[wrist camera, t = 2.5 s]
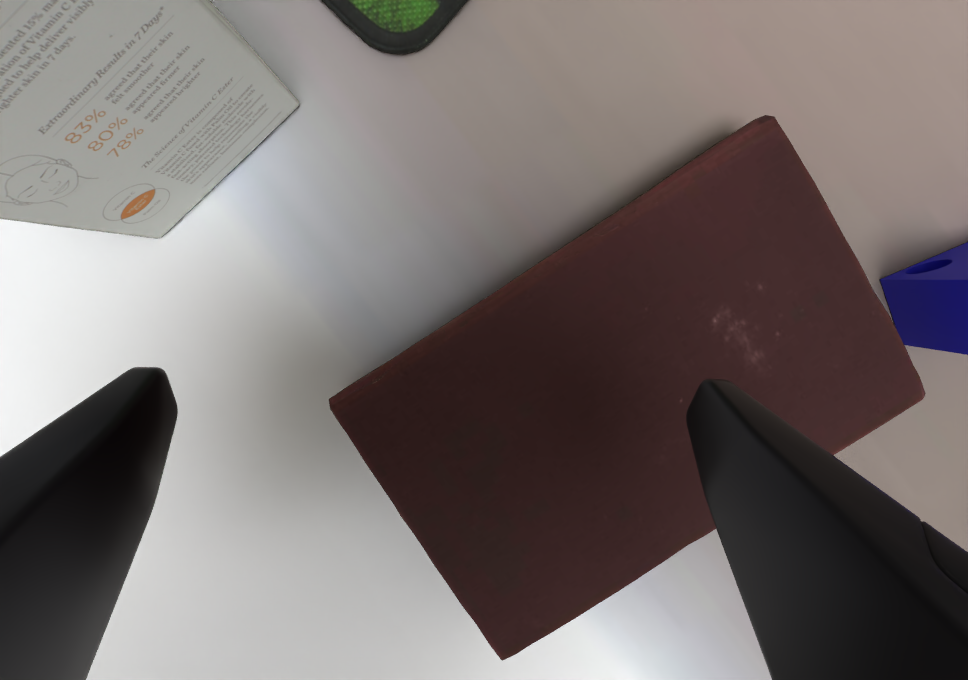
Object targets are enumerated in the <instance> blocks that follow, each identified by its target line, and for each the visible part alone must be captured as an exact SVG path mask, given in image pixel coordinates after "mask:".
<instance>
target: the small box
mask: <svg viewBox="0 0 968 680" xmlns="http://www.w3.org/2000/svg"><path fill="white" fill-rule="evenodd" d="M298 105H299V101H298V100H297V99H296V98H295V97H294V95H293V94H292V93H291V92H290V91H289V90H288V88H287V87H286V86H285V85H284V84H283V83H282V82H281V80H280V79H279V78H278V77H277V76H276V75H275V74H274V72H273V71H272V70H271V69H270V68H269V67H268V66H267V65H266V63H265V62H264V61H263V60H262V59H261V58H260V57H259V55H258V54H257V53H256V52H255V51H254V50H253V49H252V48H251V46H250V45H249V44H248V43H247V42H246V41H245V40H244V39H243V37H242V36H241V35H240V34H239V33H238V32H237V31H236V29H235V28H234V27H233V26H232V25H231V24H230V23H229V22H228V21H227V19H226V18H225V17H224V16H223V15H222V14H221V13H220V12H219V11H218V9H217V8H216V7H215V6H214V5H213V4H212V3H211V2H210V1H209V0H0V219H6V220H14V221H22V222H30V223H37V224H44V225H51V226H58V227H67V228H75V229H82V230H91V231H100V232H108V233H115V234H123V235H132V236H140V237H148V238H155V239H158V238H161V237H162V236H163V235H164V234H165V233H166V232H167V231H168V230H170V229H171V228H172V227H173V226H174V225H175V224H176V223H177V222H178V221H179V220H180V219H181V218H182V217H183V216H184V215H185V214H186V213H188V212H189V211H190V210H191V209H192V208H193V207H194V206H195V205H196V204H197V203H198V202H199V201H200V200H201V199H202V198H203V197H204V196H205V195H206V194H207V193H208V192H209V191H211V190H212V189H213V188H214V187H215V186H216V185H217V184H218V183H219V182H220V181H221V180H222V179H223V178H224V177H225V176H226V175H227V174H229V173H230V172H231V171H232V170H233V169H234V168H235V167H236V166H237V165H238V164H239V163H240V162H241V161H242V160H243V159H244V158H245V157H246V156H247V155H248V154H249V153H250V152H251V151H253V150H254V149H255V148H256V147H257V146H258V145H259V144H260V143H261V142H262V141H263V140H264V139H265V138H266V137H267V136H268V135H269V134H270V133H271V132H272V131H273V130H274V129H275V128H276V127H277V126H278V125H279V124H280V123H281V122H282V121H284V120H285V119H286V118H287V117H288V116H289V115H290V114H291V113H292V112H293V111H294V110H295V109H296V108H297V107H298Z"/></svg>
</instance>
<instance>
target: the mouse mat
mask: <svg viewBox="0 0 968 680" xmlns="http://www.w3.org/2000/svg"><path fill="white" fill-rule="evenodd" d="M322 1H323V2H324V3H325V4H326V5H327V6H328V7H329V8H330V9H331V10H333V11H334V12H335V13H336V14H337V15H338V17H339V18H340V19H341V20H342V21H343V22H344V23H345V24H347V25H348V26H349V27H350V28H351V29H353V30H354V31H355V33H356V34H358V35H359V36H360V37H361V38H362V40H363V41H365V42H366V43H367V44H368V45H369V46H372V47H375V48H376V49H378V50H380V51H383V52H387V53H394V54H406V53H409V52H415V51H418V50H420V49H422V48H424V47H425V46H426V45H427V44H429V43H430V42H431V41H432V40H433V39H434V38H435V37H436V36H437V35H438V34H439V33H440V32H441V30H442V29H443V28H444V27H445V26H446V25H447V24H448V23H449V21H450V20H451V19H452V18H453V17H454V16H455V15H456V14H457V12H458V11H459V10H460V9H461V7H462V6H463V5H464V4H465V3H466V2H467V0H322Z"/></svg>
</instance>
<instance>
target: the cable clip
mask: <svg viewBox="0 0 968 680" xmlns="http://www.w3.org/2000/svg"><path fill="white" fill-rule="evenodd" d="M880 281H881V284H882V287H883V290H884V293H885V296H886V299H887V302H888V305H889V308H890V311H891V314H892V317H893V320H894V323H895V326H896V329H897V332H898V334H899V336H900V338H901V340H902V342H903V344H904V345H909V346H915V347H922V348H928V349H935V350H941V351H948V352H954V353H961V354H967V355H968V242H967V243H965V244H962V245H960V246H957V247H955V248H953V249H950V250H948V251H946V252H943V253H941V254H939V255H936V256H934V257H932V258H929V259H927V260H924V261H922V262H920V263H917V264H915V265H913V266H910V267H908V268H906V269H903V270H901V271H899V272H896V273H894V274H892V275H889V276H887V277H884V278H882V279H880Z"/></svg>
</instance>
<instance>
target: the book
mask: <svg viewBox="0 0 968 680" xmlns="http://www.w3.org/2000/svg"><path fill="white" fill-rule="evenodd" d="M706 379H725V380H728V381H730V382H732V383H733V384H734V385H736V386H737V387H739V388H740V389H741V390H743V391H744V392H746V393H747V394H748V395H750V396H751V397H752V398H754V399H755V400H757V401H758V402H759V403H761V404H762V405H764V406H765V407H766V408H768V409H769V410H771V411H772V412H773V413H775V414H776V415H777V416H779V417H780V418H782V419H783V420H784V421H786V422H787V423H789V424H790V425H791V426H793V427H794V428H795V429H797V430H798V431H800V432H801V433H802V434H804V435H805V436H807V437H808V438H809V439H811V440H812V441H814V442H815V443H816V444H818V445H819V446H820V447H822V448H823V449H825V450H826V451H827V452H829V453H830V454H832V455H834V454H836V453H838V452H839V451H841V450H842V449H844V448H846V447H847V446H849V445H851V444H852V443H854V442H855V441H857V440H859V439H860V438H862V437H864V436H865V435H867V434H868V433H870V432H872V431H873V430H875V429H877V428H878V427H880V426H881V425H883V424H885V423H886V422H888V421H889V420H891V419H893V418H894V417H896V416H897V415H899V414H900V413H902V412H904V411H905V410H907V409H908V408H910V407H911V406H913V405H915V404H916V403H918V402H919V401H921V400H922V399H923V398H924V396H925V391H924V388H923V385H922V382H921V380H920V377H919V375H918V373H917V371H916V369H915V367H914V366H913V364H912V361H911V359H910V357H909V355H908V352H907V350H906V348H905V346H904V344H903V342H902V340H901V338H900V336H899V334H898V332H897V330H896V328H895V326H894V324H893V322H892V320H891V318H890V316H889V314H888V313H887V311H886V310H885V308H884V307H883V305H882V304H881V302H880V300H879V299H878V297H877V296H876V294H875V293H874V291H873V289H872V287H871V285H870V283H869V281H868V279H867V277H866V275H865V273H864V271H863V269H862V267H861V265H860V263H859V261H858V260H857V258H856V256H855V254H854V253H853V251H852V249H851V248H850V246H849V244H848V242H847V241H846V239H845V237H844V236H843V234H842V232H841V230H840V228H839V226H838V225H837V223H836V221H835V219H834V217H833V215H832V213H831V212H830V210H829V208H828V206H827V204H826V202H825V201H824V199H823V197H822V195H821V193H820V191H819V190H818V188H817V186H816V184H815V182H814V181H813V179H812V177H811V176H810V174H809V173H808V171H807V169H806V168H805V166H804V164H803V163H802V161H801V159H800V158H799V156H798V154H797V153H796V151H795V149H794V148H793V146H792V144H791V142H790V141H789V139H788V138H787V136H786V135H785V133H784V131H783V130H782V128H781V127H780V125H779V124H778V122H777V120H776V119H775V117H773V116H767V115H765V116H762V117H760V118H757V119H755V120H753V121H751V122H750V123H748V124H747V125H745V126H743V127H742V128H740V129H739V130H737V131H736V132H734V133H733V134H731V135H730V136H728V137H726V138H725V139H723V140H722V141H720V142H719V143H717V144H716V145H714V146H713V147H711V148H710V149H708V150H707V151H705V152H704V153H702V154H701V155H699V156H698V157H696V158H695V159H693V160H692V161H691V162H689V163H688V164H686V165H685V166H683V167H682V168H680V169H679V170H677V171H675V172H674V173H673V174H671V175H670V176H669V177H667V178H666V179H664V180H663V181H662V182H660V183H659V184H657V185H656V186H654V187H653V188H652V189H650V190H649V191H647V192H646V193H644V194H642V195H641V196H639V197H638V198H636V199H635V200H633V201H632V202H630V203H629V204H628V205H626V206H625V207H623V208H622V209H620V210H619V211H617V212H615V213H614V214H612V215H611V216H609V217H608V218H606V219H605V220H603V221H602V222H600V223H599V224H597V225H596V226H594V227H593V228H591V229H590V230H588V231H587V232H585V233H584V234H582V235H581V236H579V237H577V238H576V239H574V240H573V241H571V242H570V243H568V244H567V245H565V246H564V247H562V248H561V249H559V250H558V251H556V252H555V253H553V254H552V255H550V256H549V257H547V258H546V259H544V260H543V261H541V262H539V263H538V264H536V265H535V266H533V267H532V268H530V269H529V270H527V271H526V272H524V273H523V274H521V275H520V276H518V277H517V278H515V279H514V280H512V281H511V282H510V283H508V284H507V285H505V286H504V287H502V288H501V289H499V290H497V291H496V292H494V293H493V294H491V295H490V296H488V297H487V298H485V299H483V300H482V301H480V302H479V303H477V304H476V305H474V306H473V307H471V308H470V309H468V310H467V311H465V312H464V313H462V314H460V315H459V316H457V317H456V318H454V319H453V320H451V321H450V322H448V323H447V324H445V325H444V326H442V327H441V328H439V329H438V330H436V331H434V332H433V333H431V334H430V335H428V336H427V337H425V338H423V339H422V340H420V341H419V342H417V343H416V344H414V345H413V346H411V347H410V348H408V349H407V350H405V351H404V352H402V353H400V354H399V355H397V356H396V357H394V358H393V359H391V360H390V361H388V362H386V363H385V364H383V365H382V366H380V367H378V368H377V369H375V370H373V371H372V372H370V373H369V374H367V375H365V376H364V377H362V378H361V379H359V380H357V381H356V382H354V383H353V384H351V385H350V386H348V387H346V388H345V389H343V390H342V391H340V392H339V393H337V394H336V395H334V396H333V397H331V398H330V399H329V404H330V409H331V411H332V412H333V414H334V415H335V417H336V419H337V420H338V422H339V423H340V425H341V426H342V427H343V429H344V430H345V432H346V433H347V435H348V436H349V438H350V439H351V441H352V442H353V444H354V445H355V447H356V448H357V450H358V452H359V453H360V455H361V456H362V458H363V460H364V461H365V463H366V464H367V466H368V467H369V469H370V470H371V472H372V473H373V475H374V476H375V478H376V479H377V481H378V482H379V483H380V485H381V486H382V488H383V489H384V491H385V492H386V494H387V495H388V497H389V498H390V500H391V501H392V502H393V504H394V505H395V507H396V509H397V511H398V512H399V514H400V516H401V517H402V518H403V520H404V521H405V522H406V524H407V525H408V526H409V528H410V529H411V530H412V532H413V533H414V535H415V536H416V538H417V539H418V541H419V542H420V544H421V545H422V547H423V548H424V550H425V551H426V553H427V554H428V556H429V558H430V559H431V561H432V563H433V564H434V566H435V567H436V568H437V570H438V571H439V573H440V574H441V575H442V577H443V578H444V580H445V581H446V582H447V584H448V585H449V587H450V588H451V590H452V591H453V593H454V594H455V596H456V597H457V599H458V600H459V602H460V603H461V605H462V606H463V607H464V609H465V610H466V611H467V613H468V614H469V615H470V616H471V618H472V619H473V620H474V622H475V623H476V624H477V626H478V627H479V629H480V631H481V632H482V634H483V635H484V637H485V638H486V640H487V641H488V643H489V644H490V646H491V647H492V648H493V650H494V651H495V652H496V653H497V655H498V656H499V657H500V659H501V660H502V661H503V660H505V659H507V658H509V657H511V656H513V655H515V654H517V653H518V652H520V651H521V650H523V649H525V648H526V647H528V646H529V645H531V644H532V643H534V642H536V641H538V640H539V639H541V638H543V637H545V636H546V635H548V634H550V633H551V632H553V631H555V630H556V629H558V628H560V627H561V626H563V625H565V624H566V623H568V622H570V621H571V620H573V619H575V618H576V617H578V616H579V615H581V614H583V613H584V612H586V611H587V610H589V609H590V608H592V607H594V606H595V605H597V604H598V603H600V602H602V601H603V600H605V599H606V598H608V597H610V596H611V595H613V594H614V593H616V592H618V591H619V590H621V589H622V588H624V587H625V586H627V585H629V584H630V583H632V582H633V581H635V580H636V579H638V578H639V577H641V576H642V575H644V574H645V573H647V572H648V571H650V570H651V569H653V568H654V567H656V566H657V565H659V564H661V563H662V562H664V561H665V560H667V559H668V558H670V557H671V556H673V555H674V554H675V553H677V552H678V551H680V550H681V549H683V548H684V547H686V546H687V545H689V544H690V543H692V542H694V541H696V540H698V539H700V538H701V537H703V536H705V535H707V534H708V533H710V532H711V531H713V530H714V529H716V526H715V523H714V521H713V518H712V515H711V512H710V510H709V507H708V504H707V501H706V498H705V494H704V491H703V487H702V483H701V479H700V475H699V471H698V467H697V463H696V459H695V455H694V451H693V447H692V443H691V439H690V435H689V431H688V427H687V423H686V414H687V410H688V408H689V405H690V403H691V401H692V399H693V397H694V395H695V393H696V391H697V389H698V387H699V385H700V384H701V382H703V381H704V380H706Z"/></svg>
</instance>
